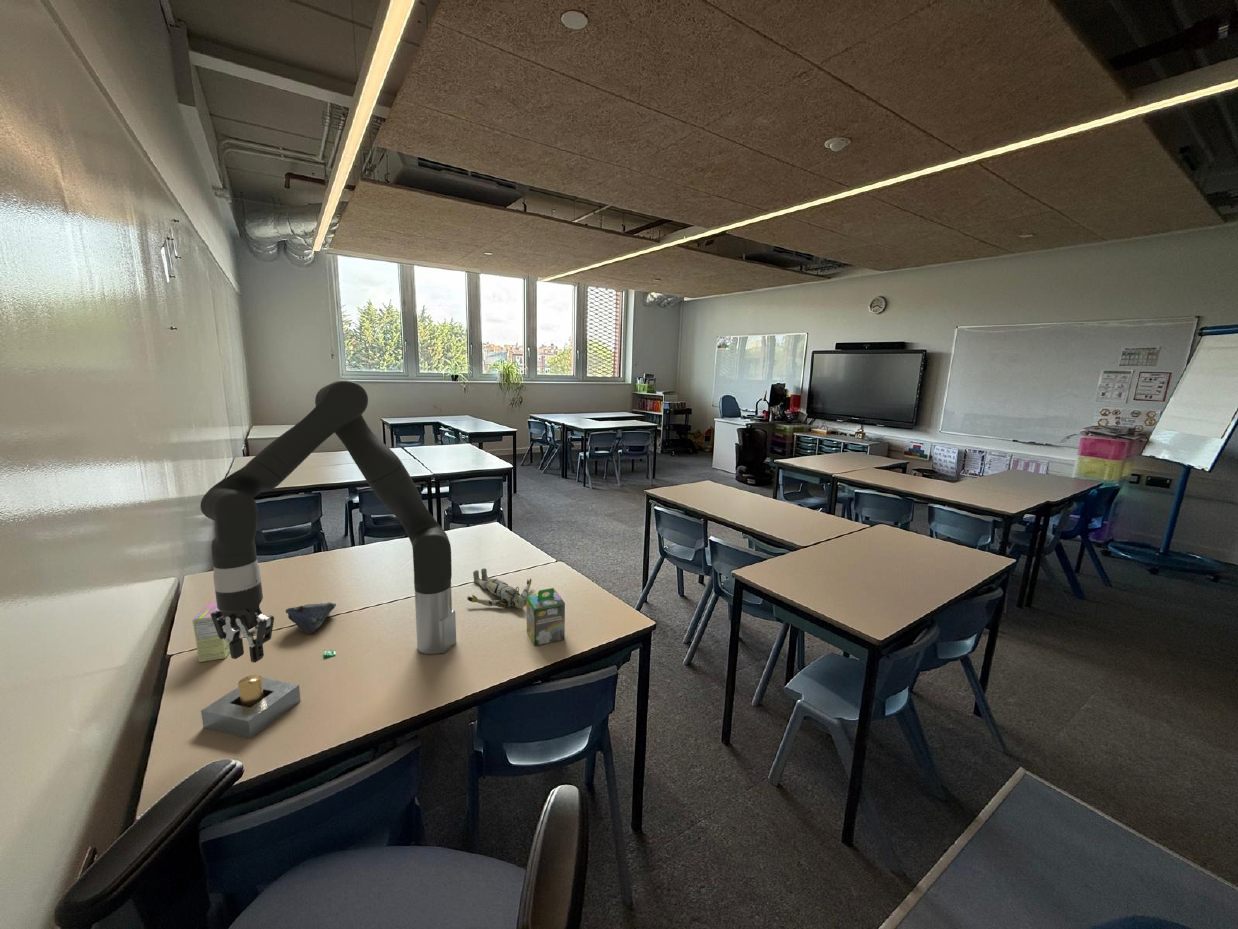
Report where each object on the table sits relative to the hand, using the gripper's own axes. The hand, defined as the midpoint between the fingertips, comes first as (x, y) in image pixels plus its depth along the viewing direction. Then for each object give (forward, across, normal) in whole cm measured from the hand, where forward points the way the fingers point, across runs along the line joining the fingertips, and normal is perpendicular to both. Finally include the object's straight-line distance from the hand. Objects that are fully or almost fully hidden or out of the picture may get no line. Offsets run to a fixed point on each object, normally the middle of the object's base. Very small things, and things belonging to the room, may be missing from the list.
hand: (247, 658), depth 103 cm
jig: (+13, 0, 0) cm, 13 cm away
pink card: (+14, +2, -23) cm, 27 cm away
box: (+14, +31, -17) cm, 38 cm away
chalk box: (+14, -49, -47) cm, 69 cm away
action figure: (+14, -25, -67) cm, 73 cm away
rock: (+14, +19, -35) cm, 42 cm away
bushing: (+13, 0, 0) cm, 13 cm away
